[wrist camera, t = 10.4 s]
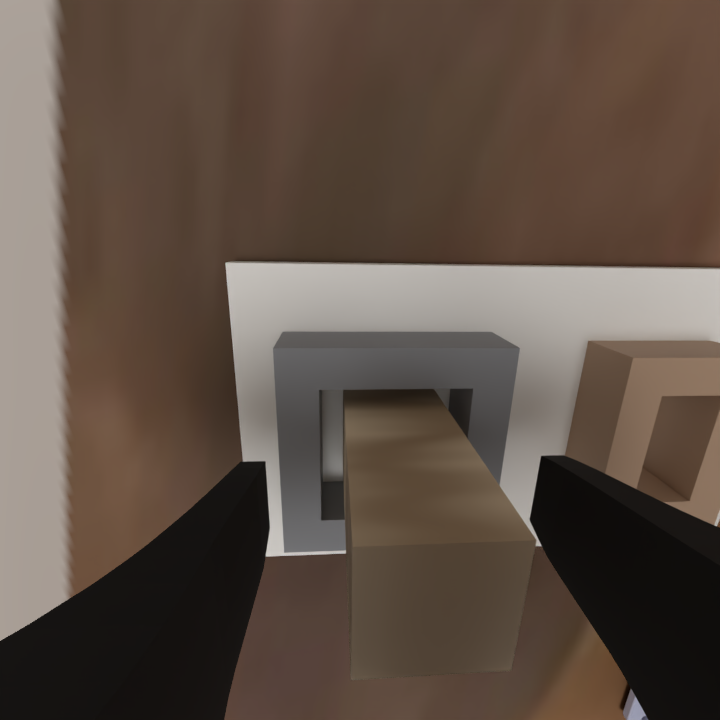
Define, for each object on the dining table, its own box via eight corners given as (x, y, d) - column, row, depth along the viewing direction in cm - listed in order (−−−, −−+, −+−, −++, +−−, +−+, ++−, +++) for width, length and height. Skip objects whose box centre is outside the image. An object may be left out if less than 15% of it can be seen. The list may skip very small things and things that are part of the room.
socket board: (776, 268, 13) (896, 275, 10) (690, 522, 17) (764, 580, 14) (233, 261, 12) (202, 266, 9) (256, 537, 15) (238, 604, 13)
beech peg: (431, 384, 13) (536, 540, 6) (424, 461, 14) (511, 670, 7) (343, 385, 13) (353, 546, 6) (342, 463, 13) (350, 680, 7)
